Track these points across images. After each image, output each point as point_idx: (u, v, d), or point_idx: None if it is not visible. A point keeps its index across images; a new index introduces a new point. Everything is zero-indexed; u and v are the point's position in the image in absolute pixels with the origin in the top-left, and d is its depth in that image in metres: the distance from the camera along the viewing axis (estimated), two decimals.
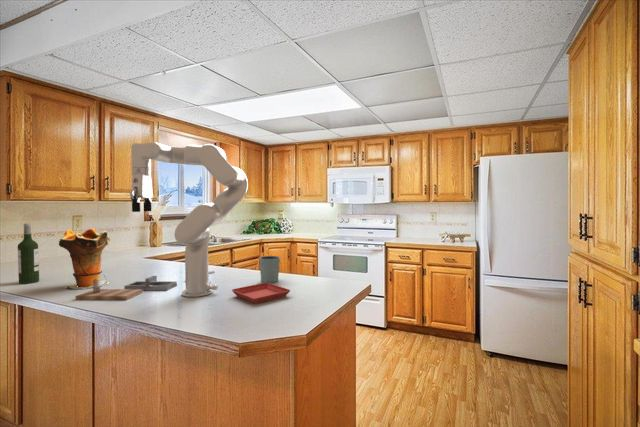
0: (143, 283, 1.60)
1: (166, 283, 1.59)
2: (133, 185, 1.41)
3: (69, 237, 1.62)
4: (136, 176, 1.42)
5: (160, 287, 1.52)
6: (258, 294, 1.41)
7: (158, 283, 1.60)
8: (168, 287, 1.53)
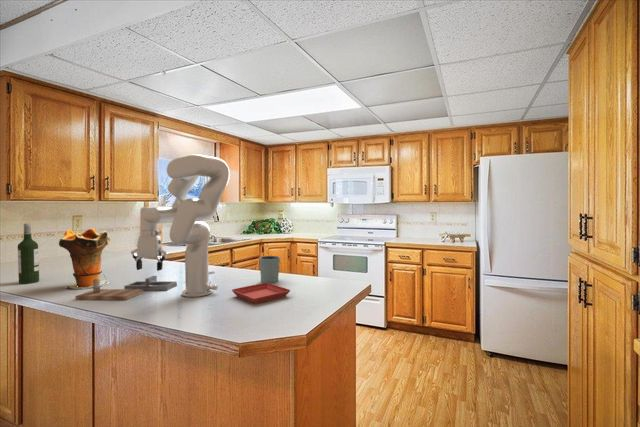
0: (143, 283, 1.60)
1: (166, 283, 1.59)
2: (158, 246, 1.55)
3: (69, 237, 1.62)
4: (159, 238, 1.56)
5: (160, 287, 1.52)
6: (258, 294, 1.41)
7: (158, 283, 1.60)
8: (168, 287, 1.53)
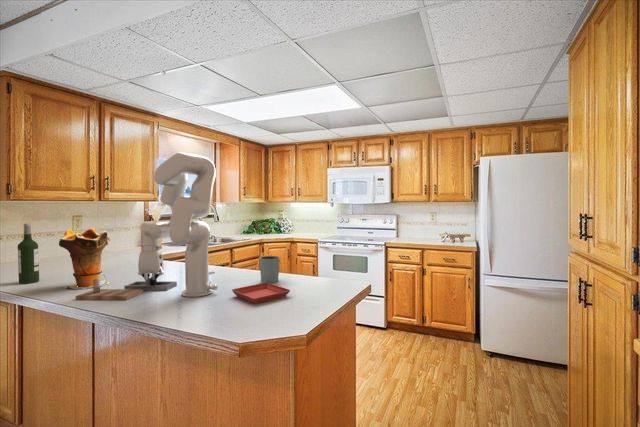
0: (143, 283, 1.60)
1: (166, 283, 1.59)
2: (159, 261, 1.55)
3: (69, 237, 1.62)
4: (160, 253, 1.56)
5: (160, 287, 1.52)
6: (258, 294, 1.41)
7: (158, 283, 1.60)
8: (168, 287, 1.53)
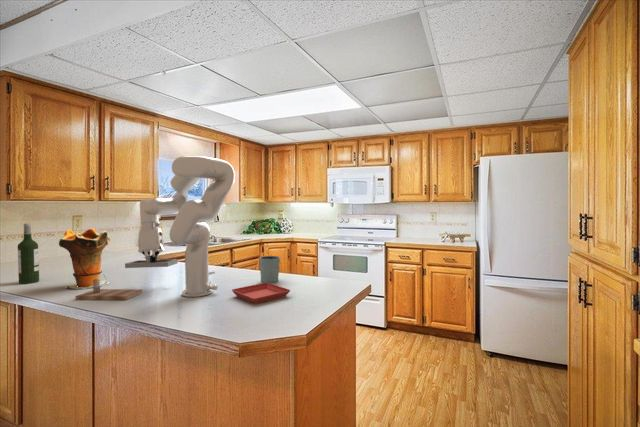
0: (144, 262, 1.59)
1: (167, 261, 1.59)
2: (159, 238, 1.54)
3: (69, 237, 1.62)
4: (159, 230, 1.55)
5: (161, 263, 1.51)
6: (258, 294, 1.41)
7: (159, 261, 1.59)
8: (169, 263, 1.52)
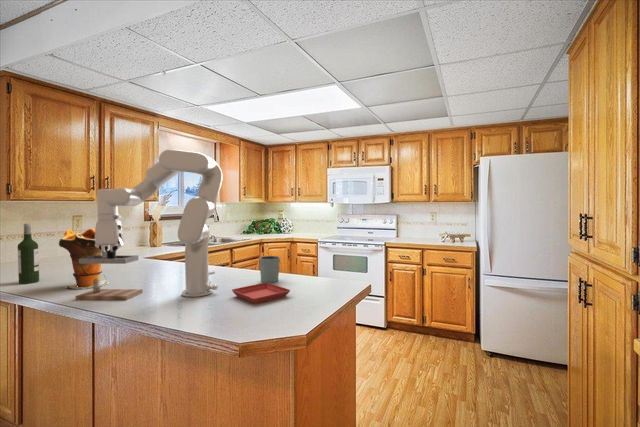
0: (101, 257, 1.46)
1: (126, 257, 1.46)
2: (118, 232, 1.41)
3: (69, 237, 1.62)
4: (119, 223, 1.42)
5: (117, 260, 1.38)
6: (258, 294, 1.41)
7: (118, 257, 1.46)
8: (127, 260, 1.39)
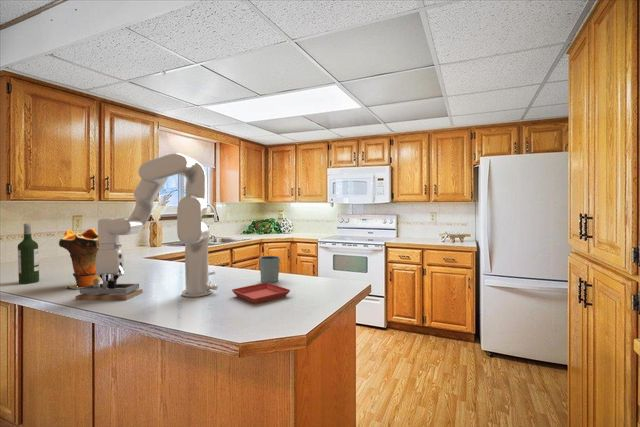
0: (102, 285, 1.47)
1: (127, 285, 1.46)
2: (119, 261, 1.41)
3: (69, 237, 1.62)
4: (119, 251, 1.42)
5: (118, 290, 1.38)
6: (258, 294, 1.41)
7: (119, 285, 1.46)
8: (128, 290, 1.39)
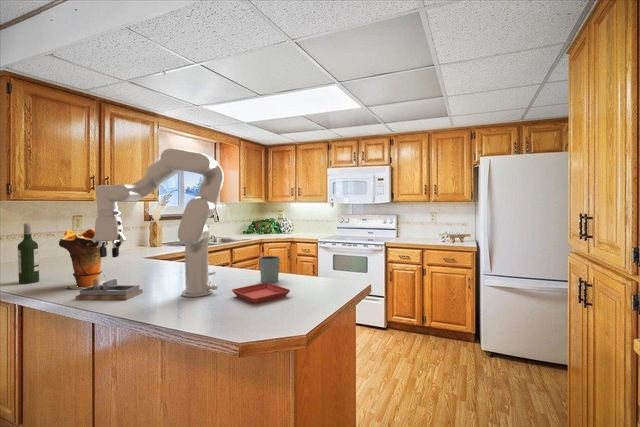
0: (102, 287, 1.47)
1: (127, 287, 1.46)
2: (118, 228, 1.41)
3: (69, 237, 1.62)
4: (118, 219, 1.42)
5: (119, 292, 1.38)
6: (258, 294, 1.41)
7: (119, 287, 1.46)
8: (128, 292, 1.39)
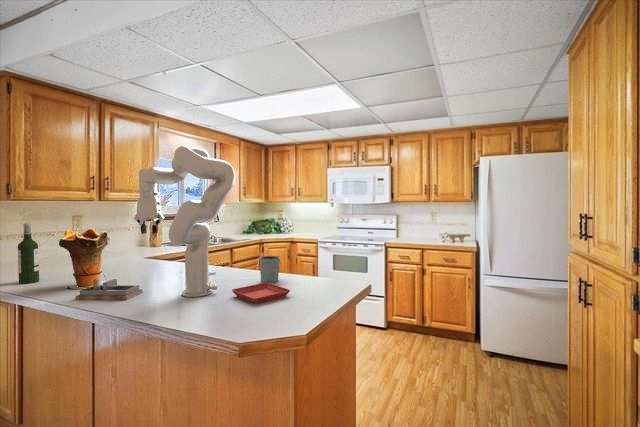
0: (102, 287, 1.47)
1: (127, 287, 1.46)
2: (157, 207, 1.57)
3: (69, 237, 1.62)
4: (158, 199, 1.58)
5: (119, 292, 1.38)
6: (258, 294, 1.41)
7: (119, 287, 1.46)
8: (128, 292, 1.39)
